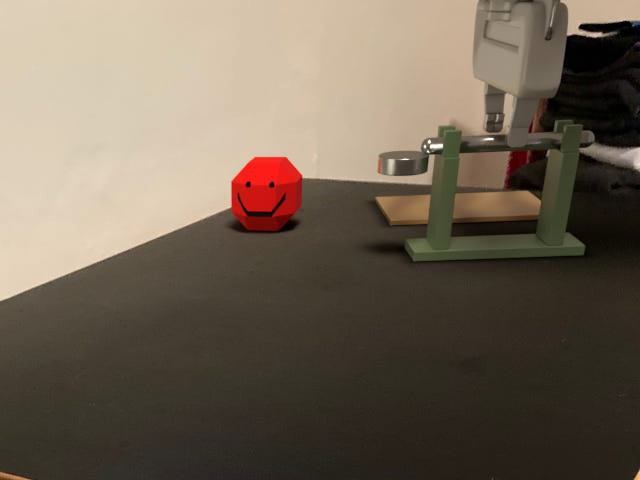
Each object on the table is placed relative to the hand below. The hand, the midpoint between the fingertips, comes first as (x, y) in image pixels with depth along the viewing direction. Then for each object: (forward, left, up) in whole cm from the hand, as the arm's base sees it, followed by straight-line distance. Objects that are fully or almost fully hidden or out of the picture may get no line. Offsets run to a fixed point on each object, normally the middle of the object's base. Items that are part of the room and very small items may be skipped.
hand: (503, 138), depth 101 cm
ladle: (+2, 0, -3) cm, 3 cm away
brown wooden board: (-2, -21, -11) cm, 24 cm away
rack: (-1, 0, -11) cm, 11 cm away
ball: (+23, -16, -11) cm, 31 cm away
